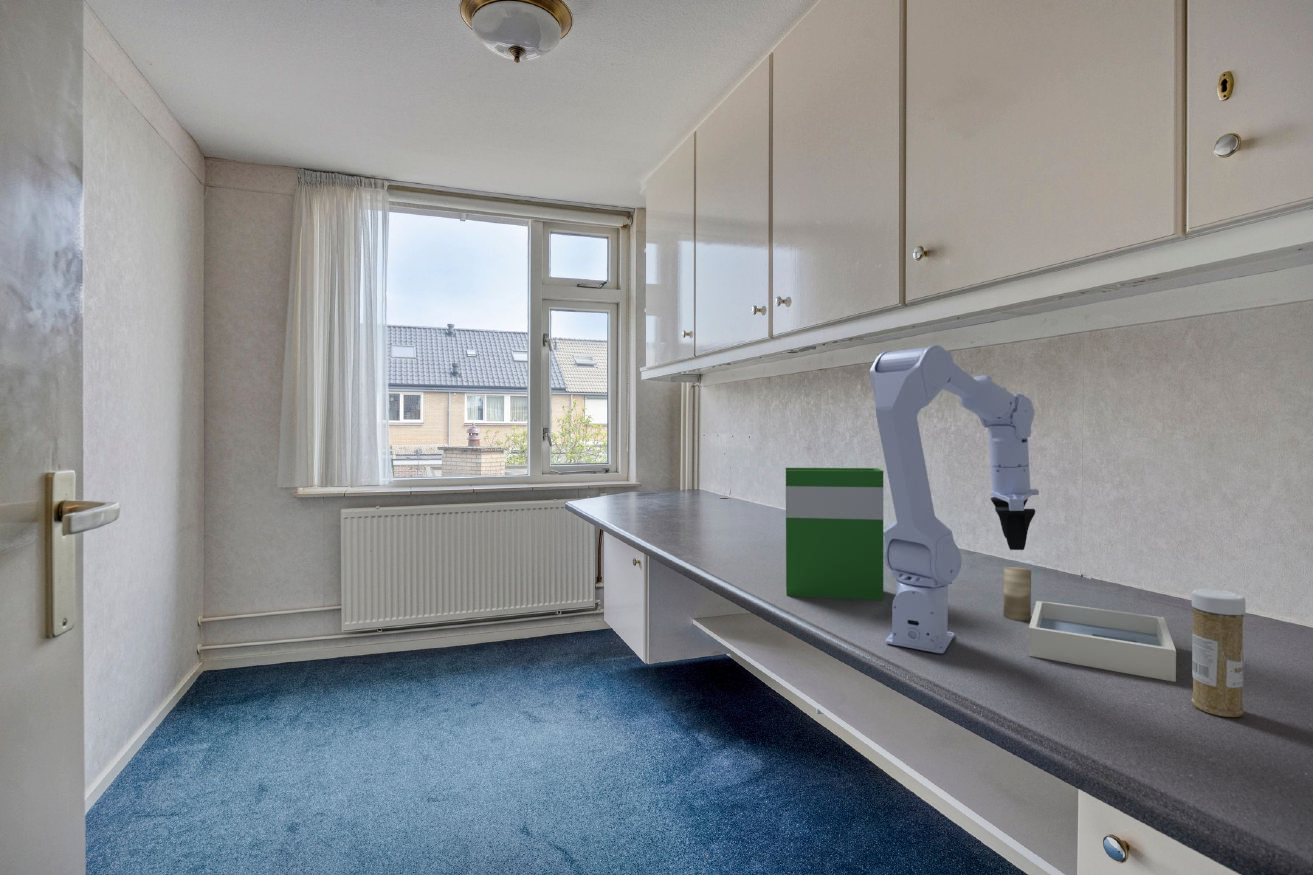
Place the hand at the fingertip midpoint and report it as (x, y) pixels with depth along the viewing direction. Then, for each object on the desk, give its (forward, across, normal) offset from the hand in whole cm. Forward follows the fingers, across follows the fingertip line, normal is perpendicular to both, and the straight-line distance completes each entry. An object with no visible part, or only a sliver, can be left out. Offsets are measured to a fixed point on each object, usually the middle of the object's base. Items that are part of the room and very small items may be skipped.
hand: (1014, 543), depth 107 cm
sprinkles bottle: (+11, -33, -16) cm, 38 cm away
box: (+11, -16, -8) cm, 21 cm away
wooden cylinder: (+12, -3, 0) cm, 12 cm away
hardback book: (+10, +1, +31) cm, 33 cm away
